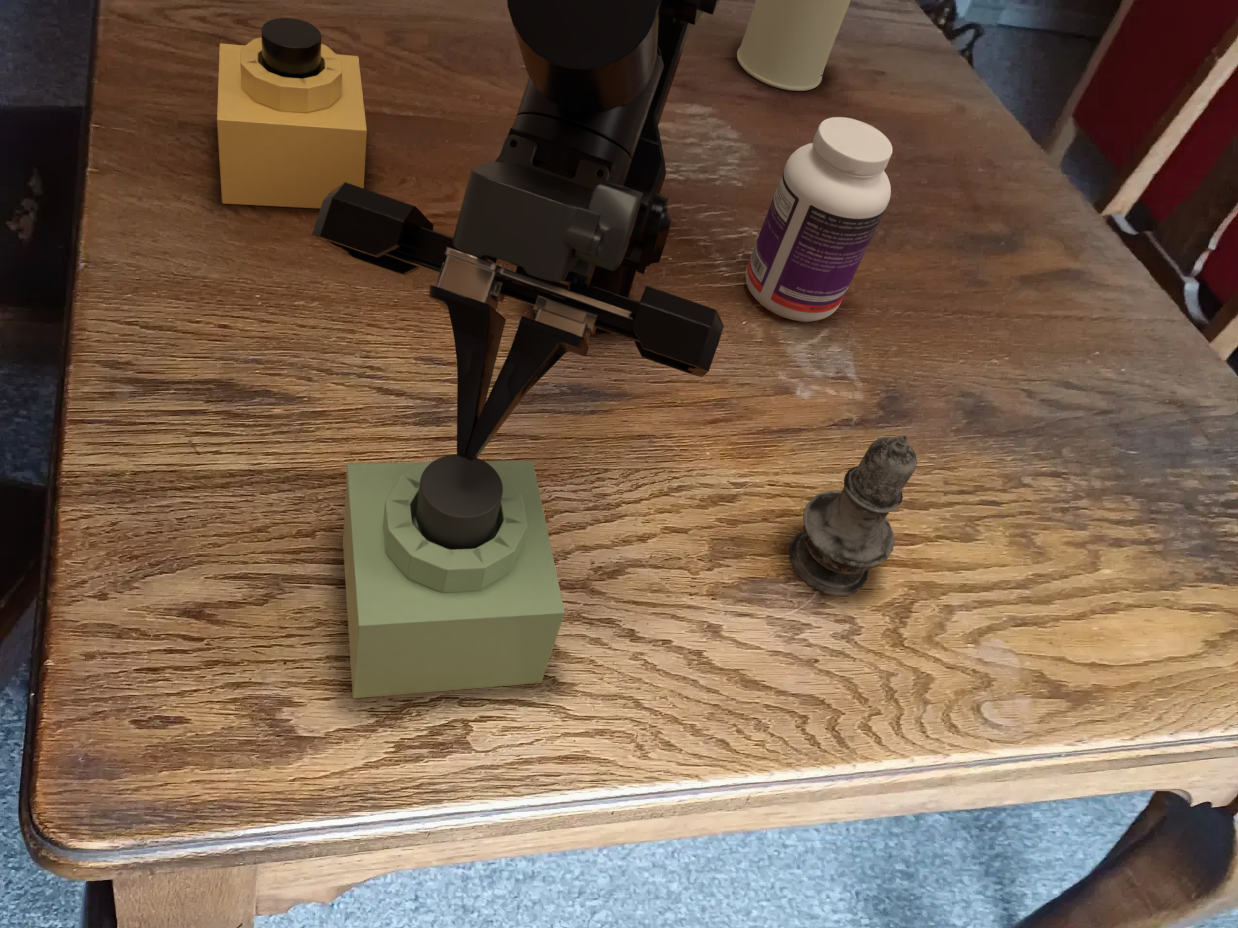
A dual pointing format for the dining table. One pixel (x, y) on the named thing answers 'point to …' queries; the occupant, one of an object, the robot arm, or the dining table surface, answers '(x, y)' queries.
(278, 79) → the yellow push button box
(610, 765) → the dining table surface
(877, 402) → the dining table surface
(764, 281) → the pill bottle
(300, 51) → the back button
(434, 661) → the green push button box
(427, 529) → the front button
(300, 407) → the dining table surface
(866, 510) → the chess piece
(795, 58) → the can
